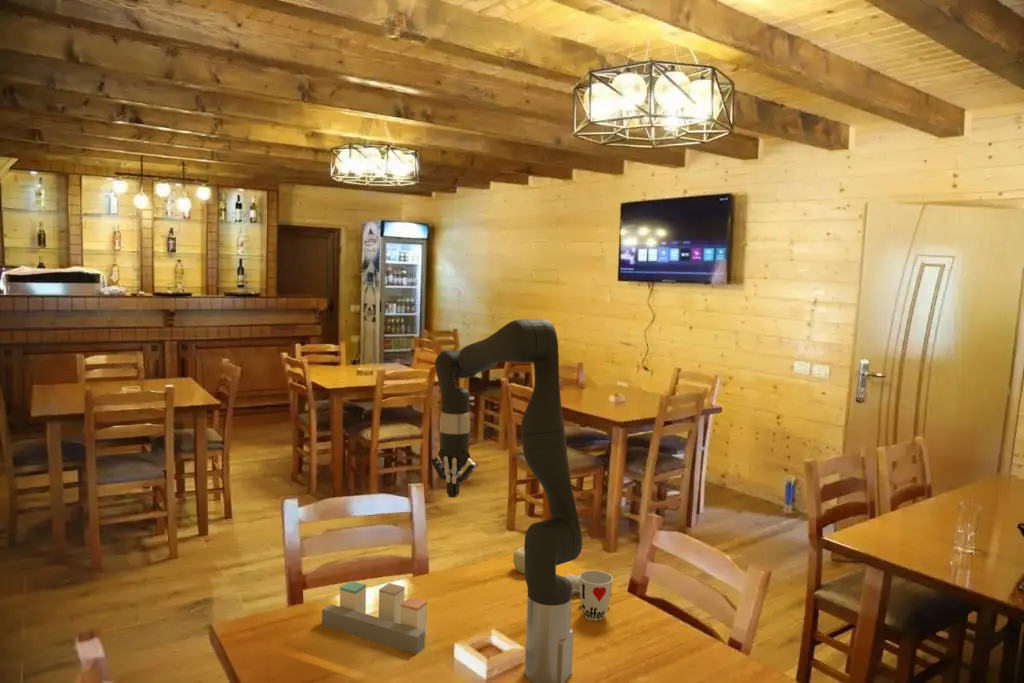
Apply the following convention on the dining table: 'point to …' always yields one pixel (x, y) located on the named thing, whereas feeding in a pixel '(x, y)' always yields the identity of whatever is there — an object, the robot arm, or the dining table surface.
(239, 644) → the dining table surface
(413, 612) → the beige and orange block
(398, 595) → the beige tall block
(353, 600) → the beige and green block
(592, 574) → the cup
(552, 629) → the robot arm
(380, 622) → the grey base
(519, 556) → the fruit
